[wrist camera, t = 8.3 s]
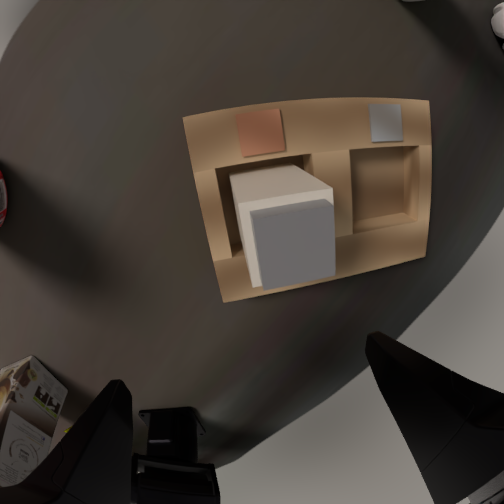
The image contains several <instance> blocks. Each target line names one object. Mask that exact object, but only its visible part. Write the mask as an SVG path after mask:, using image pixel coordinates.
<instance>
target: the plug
mask: <svg viewBox="0 0 504 504" xmlns="http://www.w3.org/2000/svg"><path fill="white" fill-rule="evenodd" d="M229 178H230V183H231V189H232V194H233V200H234V206H235V211H236V217H237V222H238V228H239V233H240V237H241V241H242V245H243V250H244V254H245V258H246V262H247V266H248V270H249V275H250V279H251V283H252V287H253V288H254V287H259V286H262V287H263V290H264V291H265V290H270V289H275V288H280V287H285V286H289V285H294V284H299V283H303V282H308V281H313V280H317V279H322V278H326V277H331V276H335V270H336V265H335V223H334V202H333V188H332V187H330V186H329V185H327V184H325V183H324V182H322V181H320V180H319V179H317V178H315V177H314V176H312V175H310V174H309V173H307V172H305V171H304V170H302V169H300V168H299V167H297V166H295V165H293V164H292V163H287V164H280V165H274V166H267V167H261V168H255V169H249V170H243V171H237V172H232V173H229Z"/></svg>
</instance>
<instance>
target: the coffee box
mask: <svg viewBox="0 0 504 504" xmlns="http://www.w3.org/2000/svg"><path fill="white" fill-rule="evenodd" d="M67 392H68V390H67V389H66V388H65V387H64V386H63V385H62V384H61V383H60V382H59V381H58V380H57V379H56V378H55V377H54V376H53V375H52V374H51V373H50V372H49V371H48V370H47V369H46V368H45V367H44V366H43V365H42V364H41V363H40V362H39V361H38V360H37V359H36V358H35V357H34V356H29V357H27V358H25V359H23V360H20V361H18V362H16V363H13V364H11V365H9V366H7V367H4V368H2V369H1V371H0V487H6V486H12V485H16V484H18V483H20V482H22V481H23V480H24V479H25V478H26V477H27V476H28V475H29V474H30V473H31V472H32V471H33V470H34V469H35V468H36V467H37V466H38V465H39V464H40V463H41V462H42V461H43V460H44V459H45V458H46V457H47V455H48V451H49V448H50V444H51V441H52V437H53V434H54V430H55V427H56V424H57V421H58V418H59V415H60V412H61V409H62V406H63V403H64V400H65V398H66V395H67Z"/></svg>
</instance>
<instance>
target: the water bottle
mask: <svg viewBox="0 0 504 504" xmlns="http://www.w3.org/2000/svg"><path fill="white" fill-rule="evenodd" d="M493 14H494V16H493V17H492V19H491V25H492V28H493V31H494V33H495V35H497V36H499V37H501V38H503V39H504V2H503V3H501V4H498V5H497V6H496V7H495V8H494V10H493ZM502 47H503V49H504V43H503V45H502Z"/></svg>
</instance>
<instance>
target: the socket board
mask: <svg viewBox="0 0 504 504" xmlns="http://www.w3.org/2000/svg"><path fill="white" fill-rule="evenodd" d="M183 122H184V128H185V133H186V138H187V143H188V148H189V153H190V158H191V163H192V168H193V173H194V178H195V183H196V187H197V192H198V197H199V201H200V206H201V210H202V215H203V219H204V224H205V228H206V233H207V237H208V241H209V245H210V250H211V254H212V258H213V262H214V266H215V271H216V275H217V279H218V283H219V287H220V291H221V295H222V299H223V302H224V303H225V302H230V301H235V300H240V299H245V298H251V297H256V296H261V295H265V294H270V293H275V292H280V291H285V290H289V289H294V288H299V287H303V286H308V285H312V284H317V283H321V282H326V281H330V280H334V279H338V278H343V277H347V276H351V275H355V274H359V273H363V272H368V271H372V270H376V269H379V268H383V267H387V266H391V265H395V264H399V263H403V262H406V261H410V260H414V259H418V258H421V257H425V253H426V245H427V237H428V227H429V216H430V201H431V176H432V147H431V123H430V109H429V101H425V100H413V99H397V98H322V99H305V100H292V101H282V102H272V103H264V104H256V105H249V106H242V107H235V108H229V109H223V110H218V111H212V112H207V113H202V114H197V115H192V116H188V117H183ZM287 163H292V164H293V165H295V166H297V167H299V168H300V169H302V170H304V171H305V172H307V173H309V174H310V175H312V176H314V177H315V178H317V179H319V180H320V181H322V182H324V183H325V184H327V185H329V186H330V187H332V188H333V202H334V223H335V265H336V270H335V276H331V277H326V278H322V279H317V280H313V281H308V282H303V283H299V284H294V285H289V286H285V287H280V288H275V289H270V290H265V291H264V290H263V287H262V286H259V287H254V288H253V287H252V283H251V279H250V275H249V270H248V266H247V262H246V258H245V254H244V250H243V245H242V241H241V237H240V233H239V228H238V222H237V217H236V211H235V206H234V200H233V194H232V189H231V183H230V178H229V173H232V172H237V171H243V170H249V169H255V168H261V167H267V166H274V165H280V164H287Z"/></svg>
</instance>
